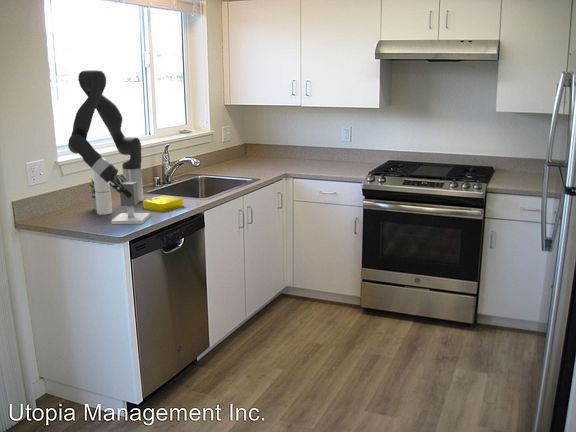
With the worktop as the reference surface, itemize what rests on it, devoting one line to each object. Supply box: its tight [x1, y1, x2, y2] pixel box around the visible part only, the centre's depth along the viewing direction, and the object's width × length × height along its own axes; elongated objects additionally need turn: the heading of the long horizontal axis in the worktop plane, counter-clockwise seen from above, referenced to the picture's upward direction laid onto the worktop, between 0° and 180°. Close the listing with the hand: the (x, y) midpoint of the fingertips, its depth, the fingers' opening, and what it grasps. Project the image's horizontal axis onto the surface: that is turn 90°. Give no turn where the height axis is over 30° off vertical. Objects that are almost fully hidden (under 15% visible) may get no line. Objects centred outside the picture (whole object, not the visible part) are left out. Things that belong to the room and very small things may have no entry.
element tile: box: [142, 194, 184, 213], centre depth 297 cm, size 15×15×5 cm
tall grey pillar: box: [119, 182, 140, 207], centre depth 270 cm, size 6×6×10 cm
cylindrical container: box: [92, 169, 113, 216], centre depth 285 cm, size 7×7×25 cm
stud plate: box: [110, 206, 151, 225], centre depth 272 cm, size 14×14×8 cm
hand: (132, 195), depth 270 cm, fingers closed on tall grey pillar, 6 cm apart
